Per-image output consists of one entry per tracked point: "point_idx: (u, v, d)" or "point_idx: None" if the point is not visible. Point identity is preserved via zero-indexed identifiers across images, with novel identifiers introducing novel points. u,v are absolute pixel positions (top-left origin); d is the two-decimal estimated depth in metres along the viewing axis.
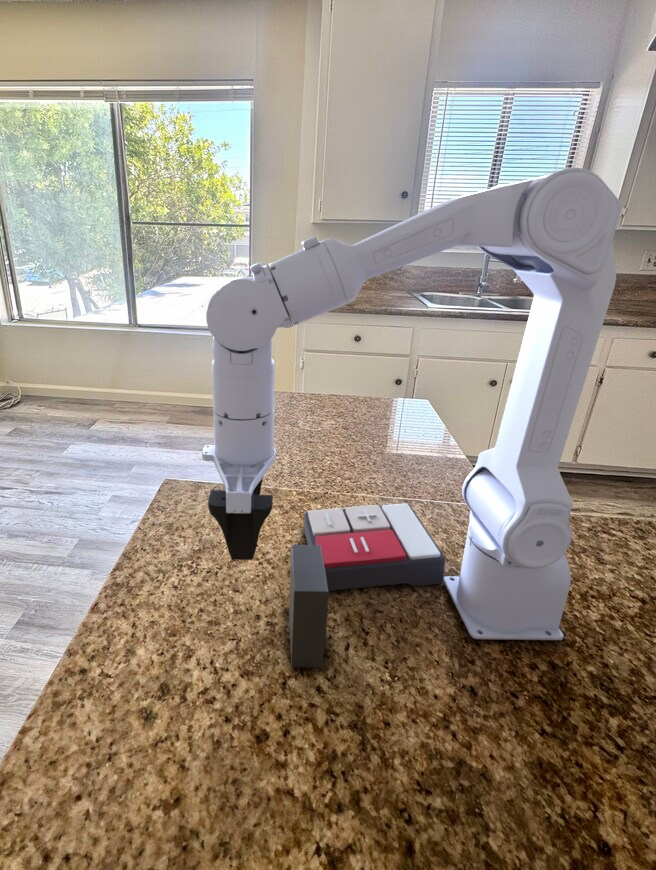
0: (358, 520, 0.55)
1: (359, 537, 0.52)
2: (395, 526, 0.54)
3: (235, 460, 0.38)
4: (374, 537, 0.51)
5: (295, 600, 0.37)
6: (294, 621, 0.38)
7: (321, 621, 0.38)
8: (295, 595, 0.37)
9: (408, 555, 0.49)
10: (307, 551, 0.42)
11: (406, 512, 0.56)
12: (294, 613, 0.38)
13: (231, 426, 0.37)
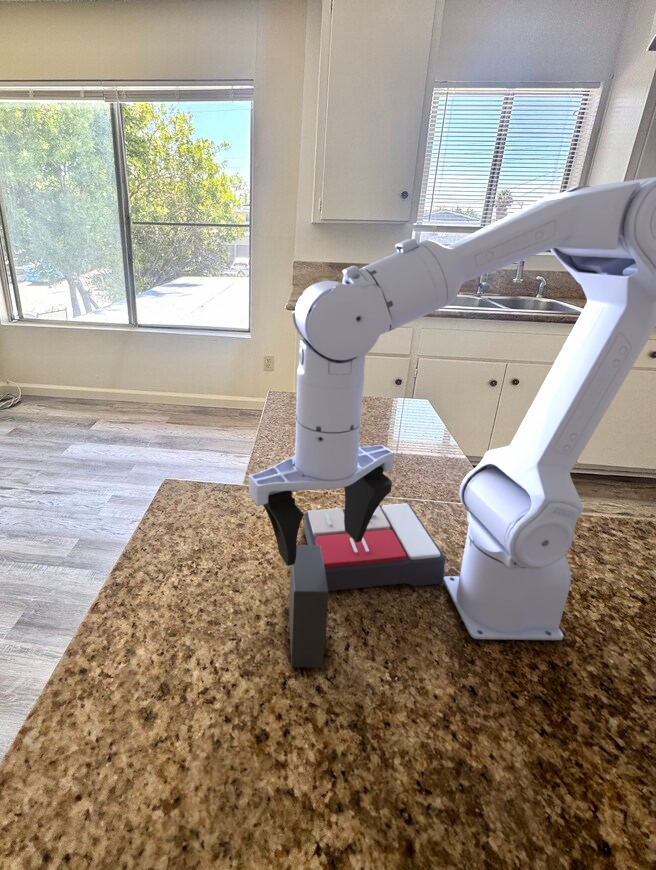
0: None
1: None
2: (395, 526, 0.54)
3: (296, 462, 0.38)
4: (374, 538, 0.51)
5: (295, 600, 0.37)
6: (294, 621, 0.38)
7: (321, 621, 0.38)
8: (295, 595, 0.37)
9: (408, 555, 0.49)
10: (307, 551, 0.42)
11: (406, 512, 0.56)
12: (294, 613, 0.38)
13: (296, 427, 0.37)
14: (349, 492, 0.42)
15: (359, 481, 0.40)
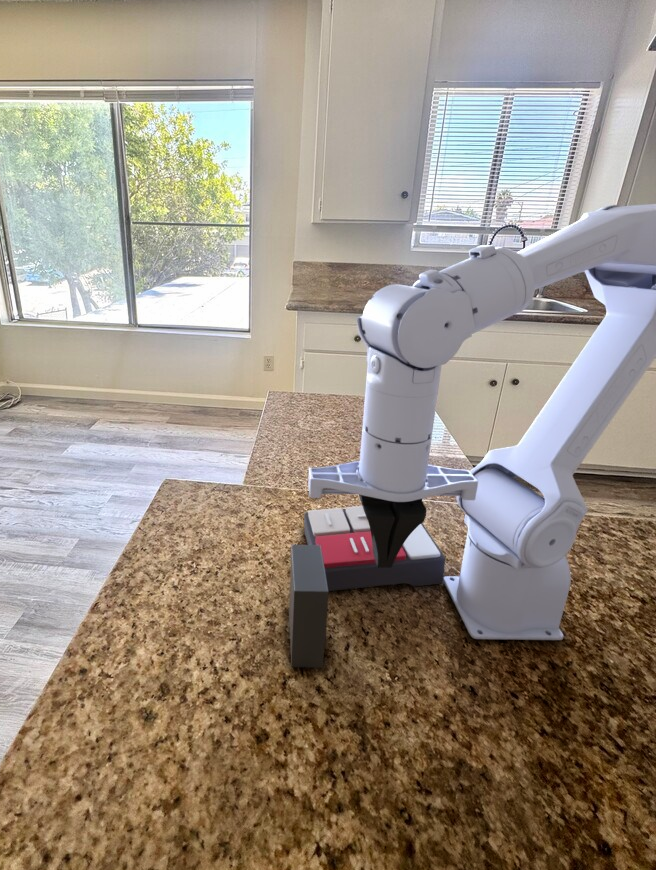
0: (358, 520, 0.55)
1: (359, 537, 0.52)
2: None
3: (359, 466, 0.37)
4: None
5: (295, 600, 0.37)
6: (294, 621, 0.38)
7: (321, 621, 0.38)
8: (295, 595, 0.37)
9: (408, 555, 0.49)
10: (307, 551, 0.42)
11: None
12: (294, 613, 0.38)
13: None
14: None
15: (392, 502, 0.37)
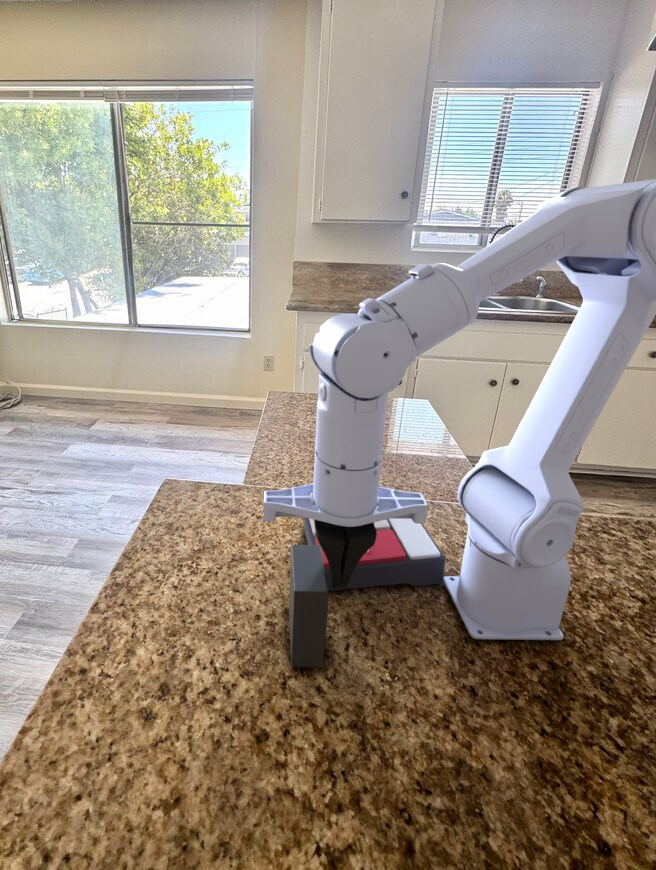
0: None
1: None
2: (395, 526, 0.54)
3: None
4: None
5: (295, 600, 0.37)
6: (294, 621, 0.38)
7: (321, 621, 0.38)
8: (295, 595, 0.37)
9: (408, 555, 0.49)
10: (307, 551, 0.42)
11: None
12: (294, 613, 0.38)
13: None
14: None
15: None
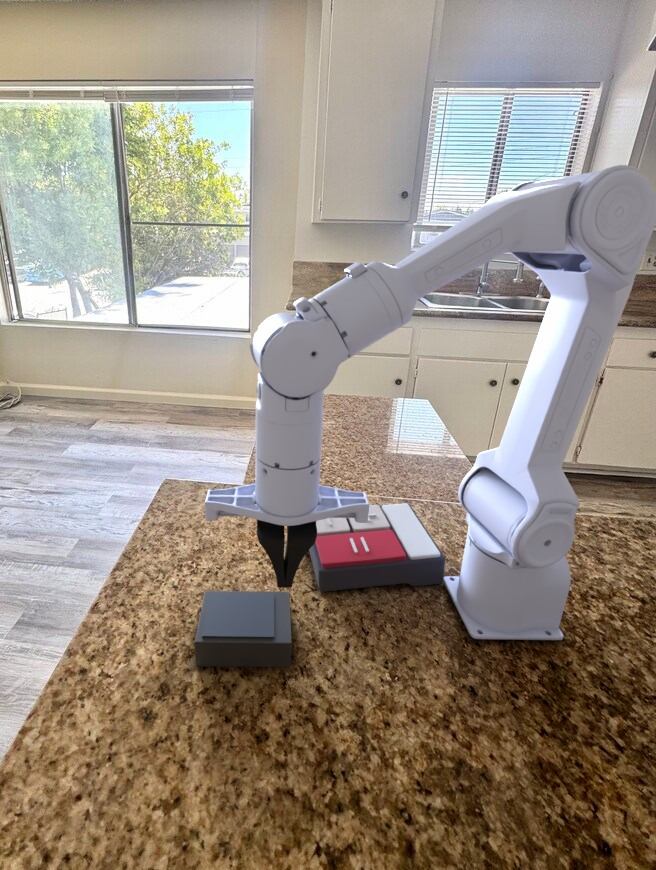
0: None
1: (359, 537, 0.52)
2: (395, 526, 0.54)
3: None
4: (374, 538, 0.51)
5: (206, 665, 0.40)
6: (231, 665, 0.40)
7: (231, 645, 0.39)
8: (200, 665, 0.40)
9: (408, 555, 0.49)
10: None
11: (406, 512, 0.56)
12: (222, 665, 0.40)
13: None
14: (287, 533, 0.40)
15: None
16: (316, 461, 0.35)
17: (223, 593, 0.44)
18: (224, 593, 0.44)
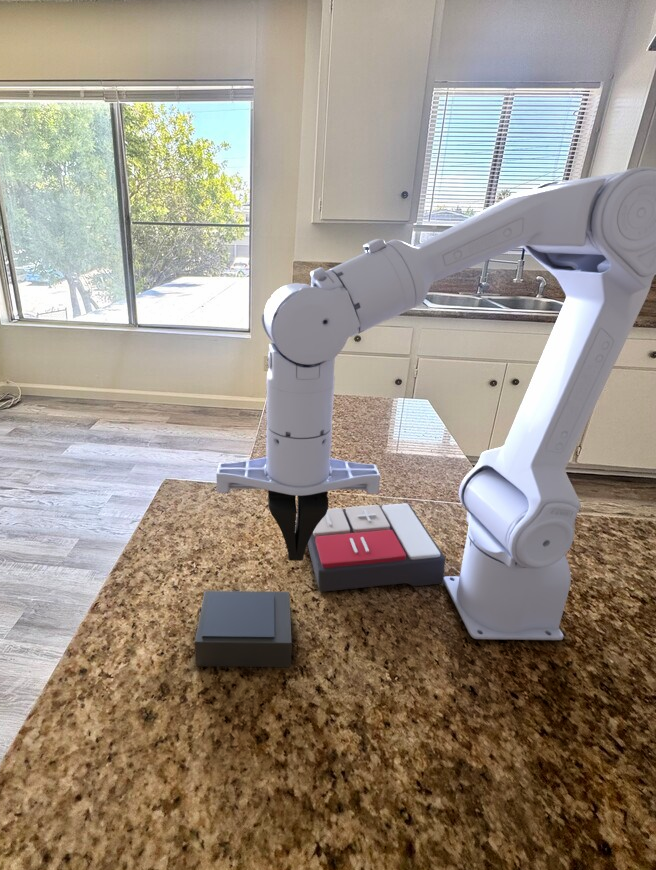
0: (358, 520, 0.55)
1: (359, 537, 0.52)
2: (395, 526, 0.54)
3: None
4: (374, 538, 0.51)
5: (206, 665, 0.40)
6: (231, 665, 0.40)
7: (231, 645, 0.39)
8: (200, 665, 0.40)
9: (408, 555, 0.49)
10: None
11: (406, 512, 0.56)
12: (222, 665, 0.40)
13: None
14: None
15: (299, 496, 0.38)
16: (327, 431, 0.35)
17: (223, 593, 0.44)
18: (224, 593, 0.44)
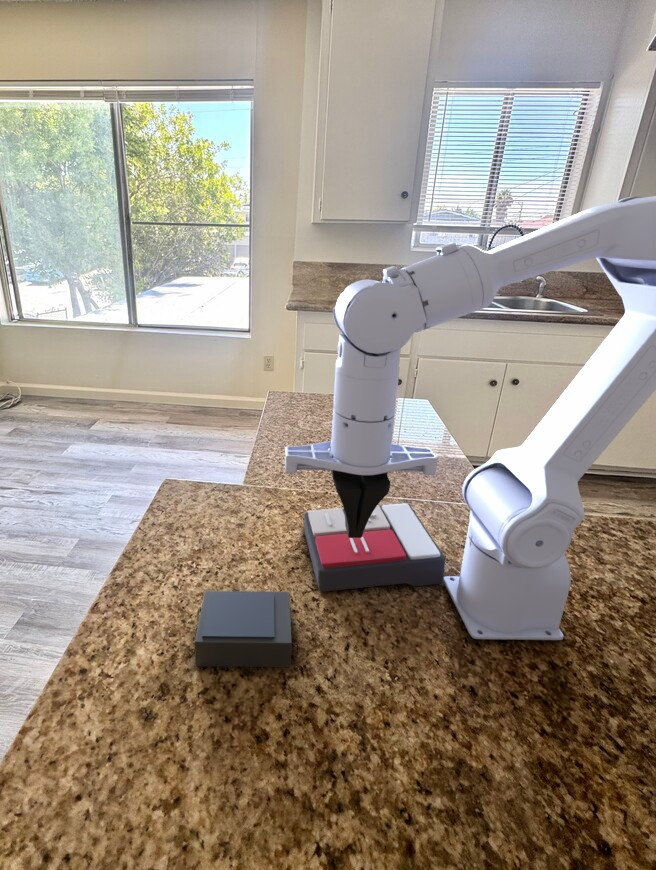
0: None
1: None
2: (395, 526, 0.54)
3: None
4: (374, 538, 0.51)
5: (206, 665, 0.40)
6: (231, 665, 0.40)
7: (230, 645, 0.39)
8: (200, 665, 0.40)
9: (408, 555, 0.49)
10: None
11: (406, 512, 0.56)
12: (222, 665, 0.40)
13: None
14: None
15: (360, 477, 0.41)
16: (392, 415, 0.38)
17: (223, 593, 0.44)
18: (224, 593, 0.44)
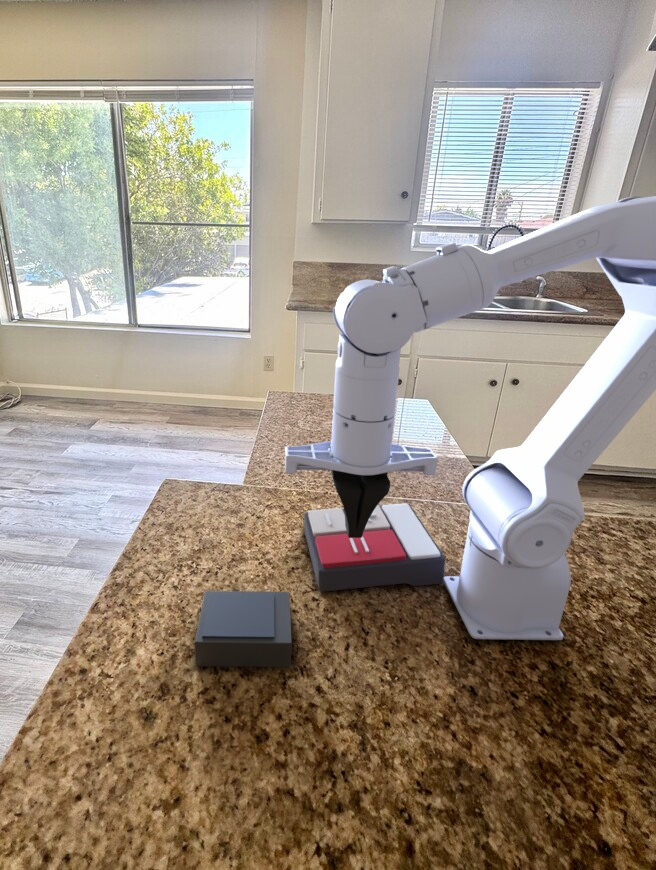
0: None
1: None
2: (395, 526, 0.54)
3: None
4: (374, 538, 0.51)
5: (206, 665, 0.40)
6: (231, 665, 0.40)
7: (230, 645, 0.39)
8: (200, 665, 0.40)
9: (408, 555, 0.49)
10: None
11: (406, 512, 0.56)
12: (222, 665, 0.40)
13: None
14: None
15: (360, 477, 0.41)
16: (392, 415, 0.38)
17: (223, 593, 0.44)
18: (224, 593, 0.44)
